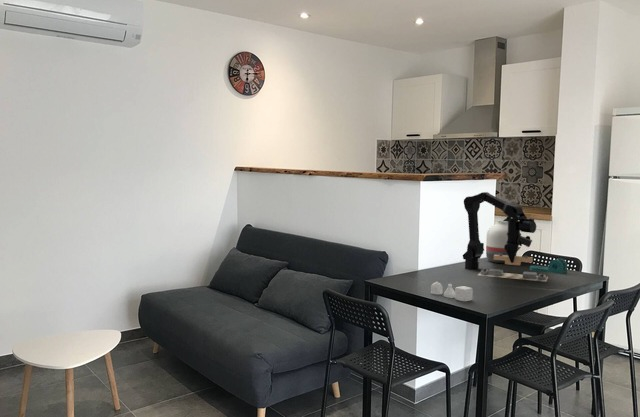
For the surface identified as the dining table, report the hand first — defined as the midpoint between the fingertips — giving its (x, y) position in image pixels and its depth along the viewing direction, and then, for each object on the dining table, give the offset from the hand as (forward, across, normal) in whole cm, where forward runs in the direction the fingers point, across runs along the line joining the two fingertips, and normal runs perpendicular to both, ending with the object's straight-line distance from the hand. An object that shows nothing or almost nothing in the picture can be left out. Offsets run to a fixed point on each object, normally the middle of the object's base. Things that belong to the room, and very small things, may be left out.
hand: (512, 262), depth 262 cm
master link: (+1, 0, 0) cm, 1 cm away
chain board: (+8, 0, 0) cm, 8 cm away
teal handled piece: (+8, +24, -14) cm, 29 cm away
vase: (+8, +45, +12) cm, 47 cm away
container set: (+8, -52, +19) cm, 56 cm away
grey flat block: (+7, 0, -10) cm, 12 cm away
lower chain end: (+7, 0, +10) cm, 12 cm away
